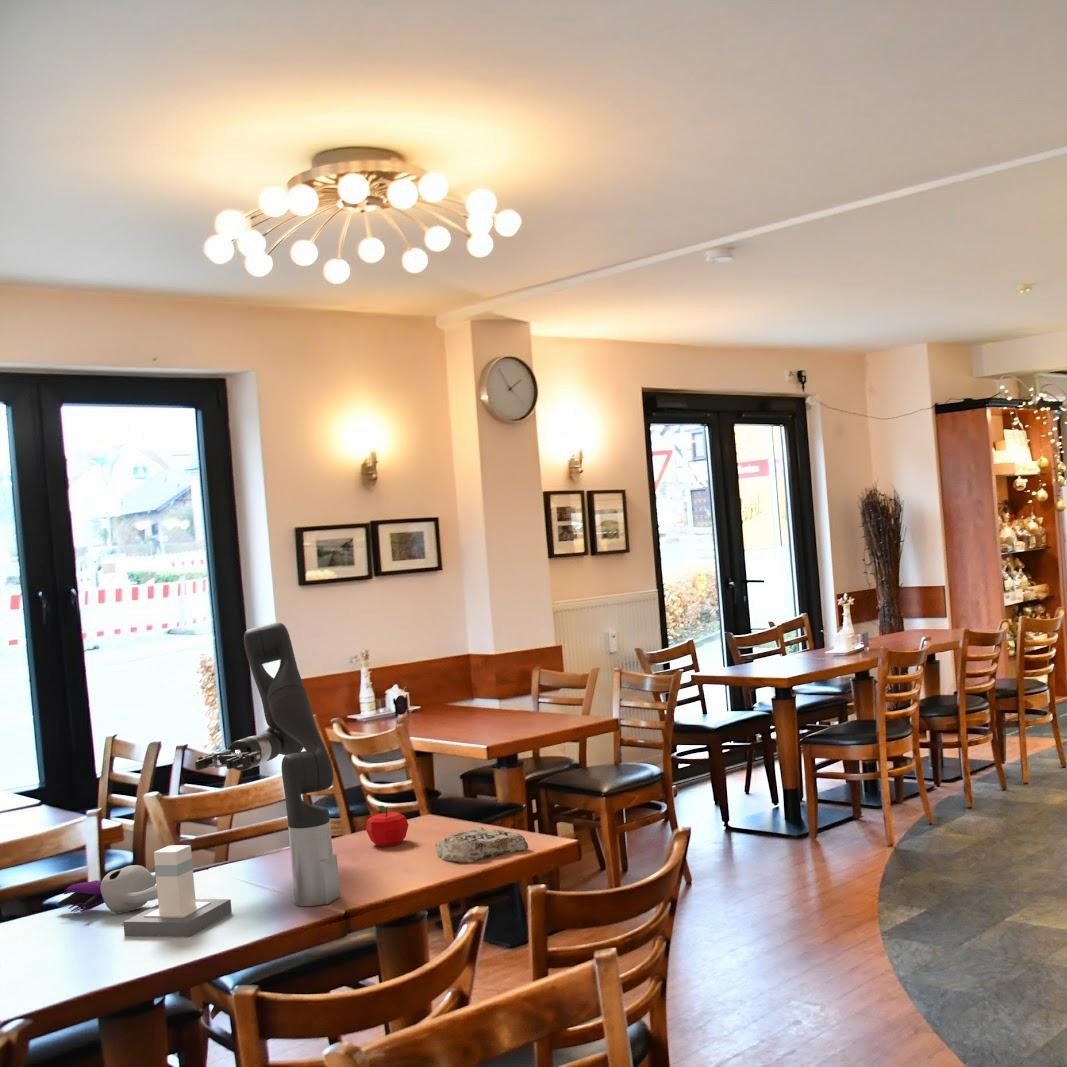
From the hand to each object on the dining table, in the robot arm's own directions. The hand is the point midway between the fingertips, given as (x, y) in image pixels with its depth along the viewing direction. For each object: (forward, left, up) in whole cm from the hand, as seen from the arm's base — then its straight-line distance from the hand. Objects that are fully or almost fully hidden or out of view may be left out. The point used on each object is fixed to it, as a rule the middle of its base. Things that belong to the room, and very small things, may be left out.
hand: (212, 765), depth 283 cm
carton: (-4, +23, -27) cm, 36 cm away
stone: (-48, -36, -31) cm, 68 cm away
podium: (-4, +23, -30) cm, 38 cm away
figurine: (+19, +14, -30) cm, 38 cm away
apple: (-22, -44, -30) cm, 58 cm away
